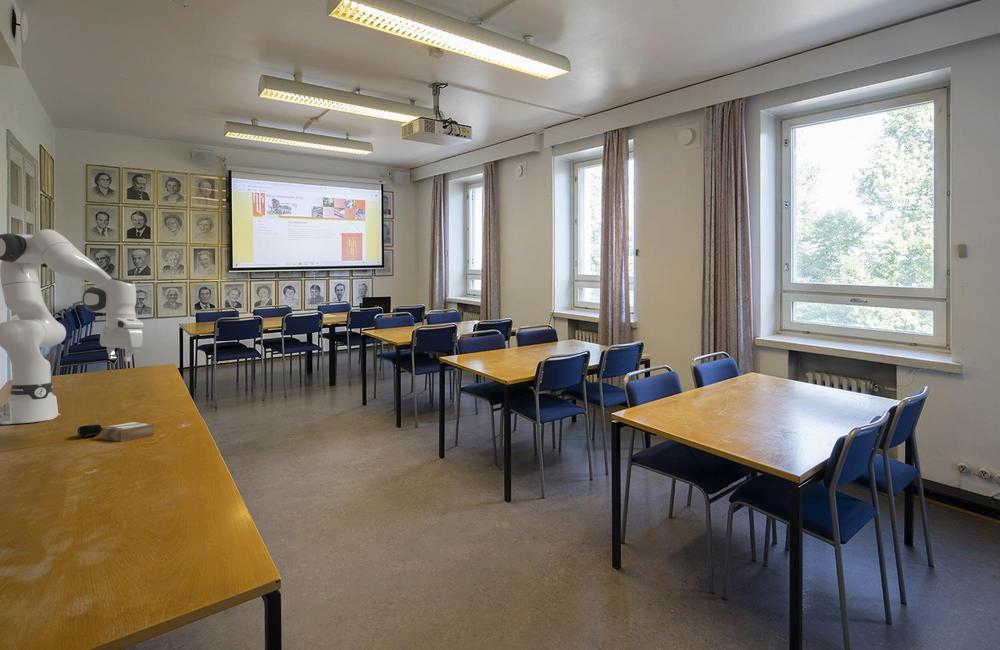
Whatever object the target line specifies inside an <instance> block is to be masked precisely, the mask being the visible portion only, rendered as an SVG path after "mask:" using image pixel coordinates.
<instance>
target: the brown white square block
mask: <svg viewBox="0 0 1000 650" xmlns="http://www.w3.org/2000/svg"><path fill="white" fill-rule="evenodd" d="M101 428H102V432H101V440H108V441H114V442H119V443H121V442H126V441H127V442H128V441H130V440H137V439H142V438H143V439H144V438H146V437H151V436H155V425H154V424H153V423H152V424H151V423H143V422H135V421H131V422H126V423H121V424H114V425H107V427H105V426H104V427H101Z"/></svg>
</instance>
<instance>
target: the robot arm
mask: <svg viewBox="0 0 1000 650" xmlns="http://www.w3.org/2000/svg"><path fill="white" fill-rule="evenodd" d="M0 261H1V262H0V285H1V290H2V294H3V298H4V303H5V307H7V308H8V309H9V310H10V311H11V312H13V313H14V314H16V316H17V317H18V319H12V320H8V321H3V322H0V347H1V348H2V349H3V350H4V351H5V352H6V354H7V356H8V357H9V361H10V363H11V368H12V385H11V387H10V393H9V394H10V395H9V396H8V398H7V399H6V400H5V401H4V402H3V403H2V404H1V405H0V413H1V414H0V425H11V424H27V423H28V424H29V423H36V422H45V421H50V420H53V419H55V418H57V417H58V416H60V415H61V413H59V410H58V408H59V407H58V401H57V396H56V395H55V394H53V391H54V390H53V388H54V385H53V382H52V379H51V376H52V371H51V369H52V367H51V362H50V361H49V360H48V359H46V358H44V355H43V354H42V353H41V349H40V348H49V347H53V346H57V345H60V344H62V343H63V341H65V339H66V336H67V330H66V327H65V326H64V325H63V324H62V323H61V322H59V321H57V320H56V318H54V316H53V315H52V313H51V312H50V310H49V309H48V307H47V305H46V303H45V301H44V296H43V292H42V289H41V284H40V279H39V277H38V268H39V267H40V266H41V267H42V268H49V269H51V270H52V271H53V272H55V273H57V274H59V275H61V276H66V277H71V278H75V279H80V280H83V281H85V282H86V281H87V282H89V283H92V284H94V285H95V286H90V287H89V288H87V289H86V290H85V291H84V292H83V294H82V300H81V301H82V304H83V306H84V308H85V309H86V310H88V312H93V313H101V314H103V313H104V314H105V316H106V317H105V323H104V325H103V326H102V328H101V330H100V335H99V344H100V346H101V347H106V352H107V355H108V359H109V360H116V359H117V354H116V353H115V350H116V348H118V349H124V350H125V354H124V355H125V356H123V361H124V362H132V356H133V354H134V352H135V350H140V349H141V348H142V345H143V328H144V326H145V325H144V322H143V321H141V320H140V319H138V318H137V317H136V316H137V313H136V309H137V307H138V306H139V297H138V295H137V288H136V284H135V282H134V281H133V280H131V279H126V278H122V277H114V276H112V275H111V274H110V273H109V272H108V271H107V270H105V269H104V268H103V267H102V266H100V265H99V264H97V263H96V262H95V261H93V260H92V259H90V258H88V256H86V255H84V253H82V252H81V251H80V250H79V249H78V248H77V247H76V246H75V245H74V244H73V243H72V242H71V241H70V240H68V238H66V236H64V235H63V234H60V233H59V232H58V231H56V230H54V229H48V228H47V229H46V228H45V229H41V230H38V231H36V232H35V233H34V234H32V233H31V234H29V233H28V234H24V233H23V234H22V233H19V234H18V233H2V234H0Z"/></svg>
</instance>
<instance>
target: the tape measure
mask: <svg viewBox="0 0 1000 650" xmlns="http://www.w3.org/2000/svg"><path fill="white" fill-rule="evenodd" d="M102 428H103V427H102V425H101V424H89V425H82V426H78V428H77V435H78V437H85V438H87V437H89V436H95V435H96V436H97V435H98V434H102Z"/></svg>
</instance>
